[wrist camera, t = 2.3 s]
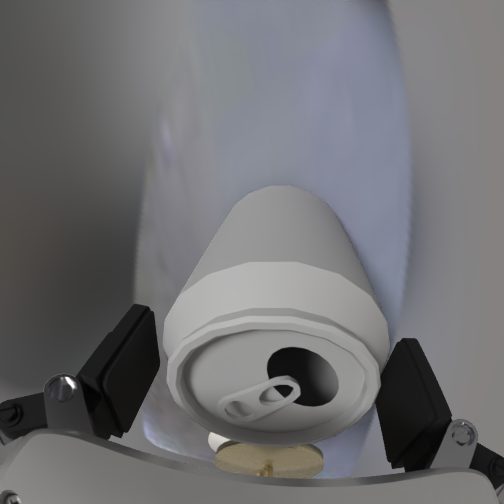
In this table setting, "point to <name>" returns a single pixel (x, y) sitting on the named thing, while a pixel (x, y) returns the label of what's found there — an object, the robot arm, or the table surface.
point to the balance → (270, 460)
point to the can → (277, 326)
